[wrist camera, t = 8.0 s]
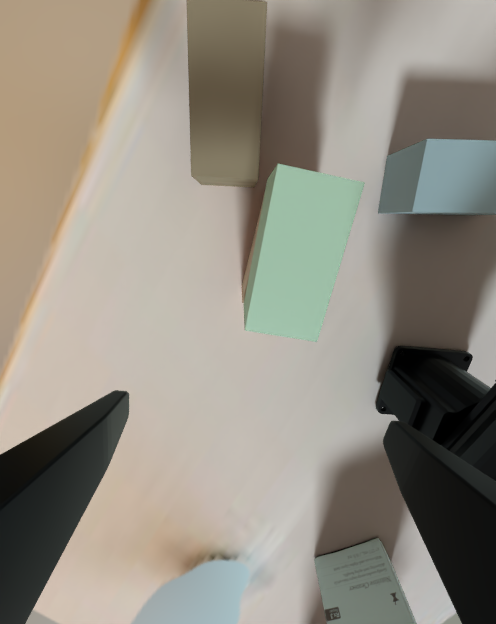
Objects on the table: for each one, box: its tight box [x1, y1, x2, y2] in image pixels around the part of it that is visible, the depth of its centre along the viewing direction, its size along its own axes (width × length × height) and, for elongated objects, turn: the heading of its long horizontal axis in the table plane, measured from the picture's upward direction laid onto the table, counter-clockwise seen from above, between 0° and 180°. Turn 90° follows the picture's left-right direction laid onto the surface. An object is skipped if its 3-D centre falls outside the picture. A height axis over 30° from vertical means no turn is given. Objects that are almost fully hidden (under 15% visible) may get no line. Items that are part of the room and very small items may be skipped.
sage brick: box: [244, 164, 365, 342], centre depth 13 cm, size 7×4×4 cm, turn 169°
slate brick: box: [378, 139, 496, 215], centre depth 16 cm, size 7×4×4 cm, turn 89°
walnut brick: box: [187, 0, 267, 187], centre depth 15 cm, size 7×4×4 cm, turn 178°
